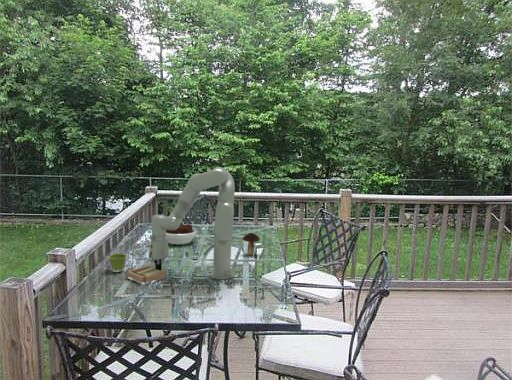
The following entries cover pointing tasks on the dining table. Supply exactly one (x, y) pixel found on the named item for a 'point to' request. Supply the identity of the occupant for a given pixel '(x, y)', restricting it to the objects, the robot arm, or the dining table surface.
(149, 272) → the beige rectangular block
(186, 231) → the white bowl with filling
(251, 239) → the decorative mushroom
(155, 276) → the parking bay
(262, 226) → the dining table surface
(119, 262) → the plant pot
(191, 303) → the dining table surface
